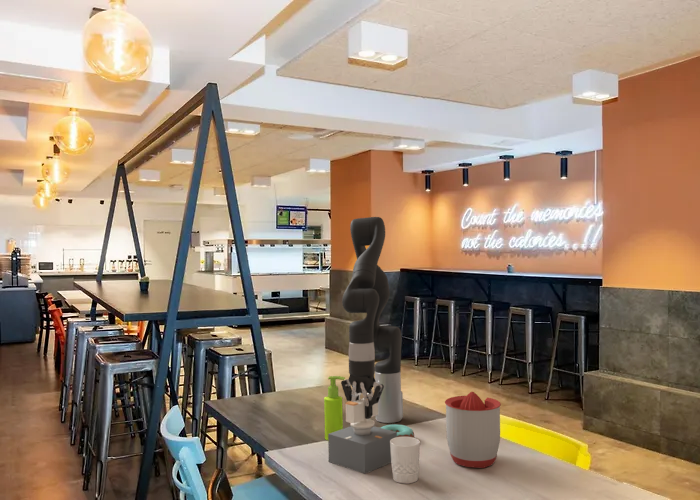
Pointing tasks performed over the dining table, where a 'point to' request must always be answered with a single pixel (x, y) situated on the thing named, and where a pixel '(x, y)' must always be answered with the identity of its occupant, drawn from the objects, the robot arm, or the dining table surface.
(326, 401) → the soap dispenser
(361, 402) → the wing knob
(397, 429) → the donut
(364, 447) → the box
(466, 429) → the citrus juicer
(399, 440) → the white cup
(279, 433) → the dining table surface
